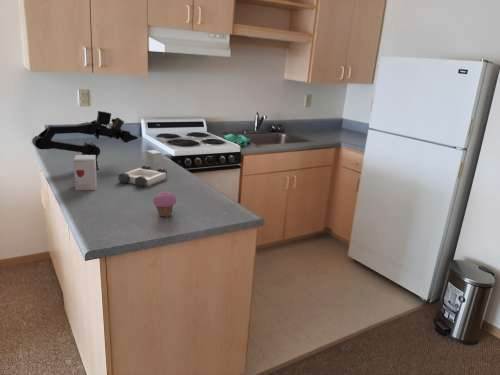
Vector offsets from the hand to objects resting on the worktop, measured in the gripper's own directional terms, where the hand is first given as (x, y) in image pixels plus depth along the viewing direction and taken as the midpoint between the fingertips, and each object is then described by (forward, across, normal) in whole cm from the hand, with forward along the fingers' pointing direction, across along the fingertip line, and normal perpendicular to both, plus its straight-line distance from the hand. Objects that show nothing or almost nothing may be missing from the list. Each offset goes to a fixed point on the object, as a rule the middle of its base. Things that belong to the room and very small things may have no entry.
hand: (134, 136), depth 230 cm
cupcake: (-18, -79, +22) cm, 84 cm away
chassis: (-5, -31, +18) cm, 36 cm away
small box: (+9, -16, +15) cm, 23 cm away
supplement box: (-32, -29, +25) cm, 50 cm away
